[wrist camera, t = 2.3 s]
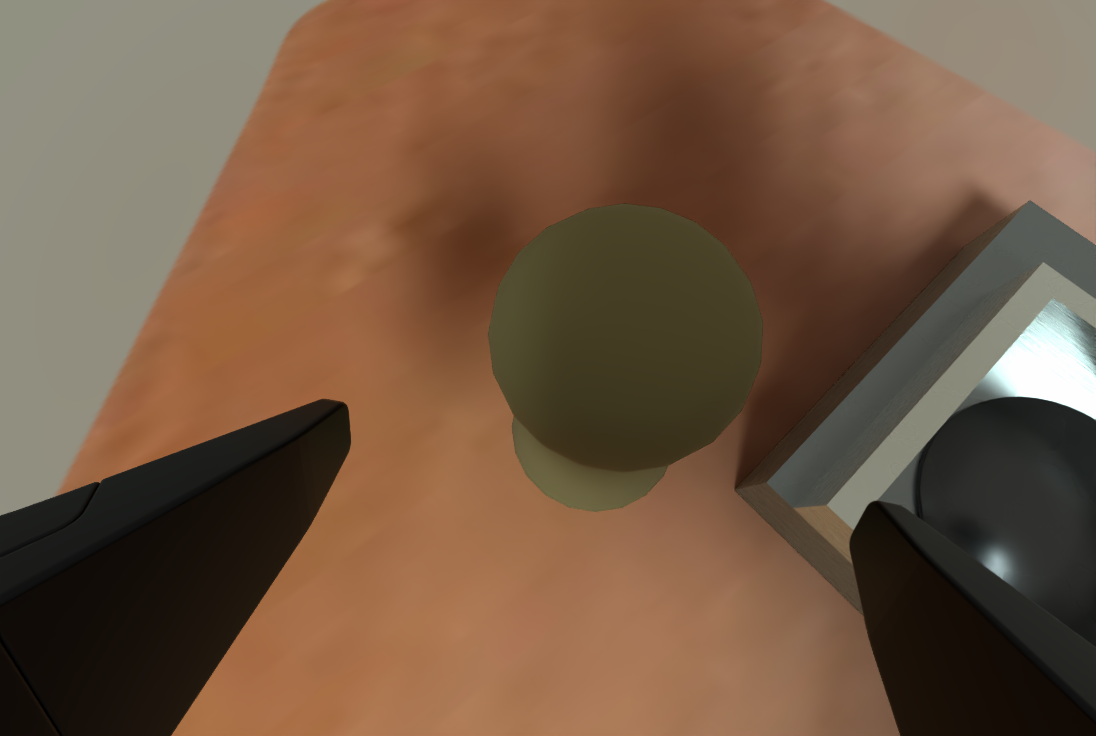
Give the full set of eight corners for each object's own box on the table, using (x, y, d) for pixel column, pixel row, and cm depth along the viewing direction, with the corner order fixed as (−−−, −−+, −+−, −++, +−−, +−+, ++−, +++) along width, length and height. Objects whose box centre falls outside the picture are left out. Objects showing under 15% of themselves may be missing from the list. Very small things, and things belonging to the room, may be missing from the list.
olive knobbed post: (615, 548, 18) (693, 575, 7) (478, 444, 19) (375, 339, 8) (707, 408, 19) (885, 262, 9) (574, 320, 20) (588, 97, 10)
